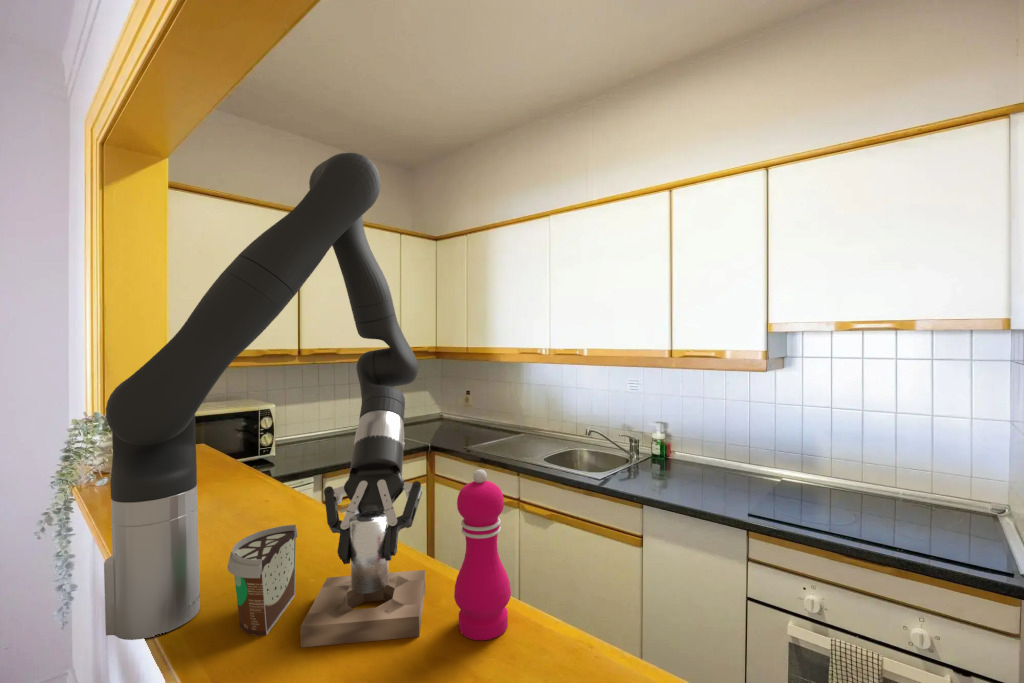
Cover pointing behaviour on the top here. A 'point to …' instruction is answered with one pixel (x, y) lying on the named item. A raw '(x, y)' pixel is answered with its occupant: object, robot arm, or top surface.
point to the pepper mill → (481, 562)
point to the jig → (365, 611)
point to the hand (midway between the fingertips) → (366, 559)
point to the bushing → (368, 552)
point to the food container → (264, 577)
